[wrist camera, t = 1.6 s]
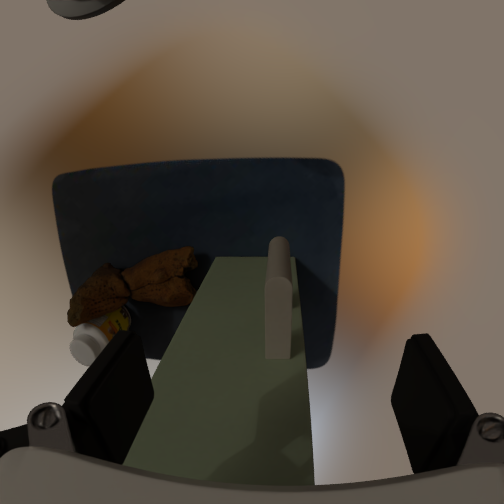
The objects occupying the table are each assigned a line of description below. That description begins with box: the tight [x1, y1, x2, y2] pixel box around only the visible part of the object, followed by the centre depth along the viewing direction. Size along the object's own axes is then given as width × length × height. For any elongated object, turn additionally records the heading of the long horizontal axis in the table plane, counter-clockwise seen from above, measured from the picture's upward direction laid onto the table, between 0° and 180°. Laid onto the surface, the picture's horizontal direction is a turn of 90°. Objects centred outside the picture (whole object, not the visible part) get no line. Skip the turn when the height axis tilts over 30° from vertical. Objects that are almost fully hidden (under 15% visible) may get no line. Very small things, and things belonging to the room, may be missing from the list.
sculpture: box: [67, 246, 198, 327], centre depth 36 cm, size 8×10×15 cm
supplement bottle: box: [70, 305, 131, 366], centre depth 38 cm, size 6×6×10 cm
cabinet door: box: [122, 237, 315, 486], centre depth 23 cm, size 6×9×31 cm
